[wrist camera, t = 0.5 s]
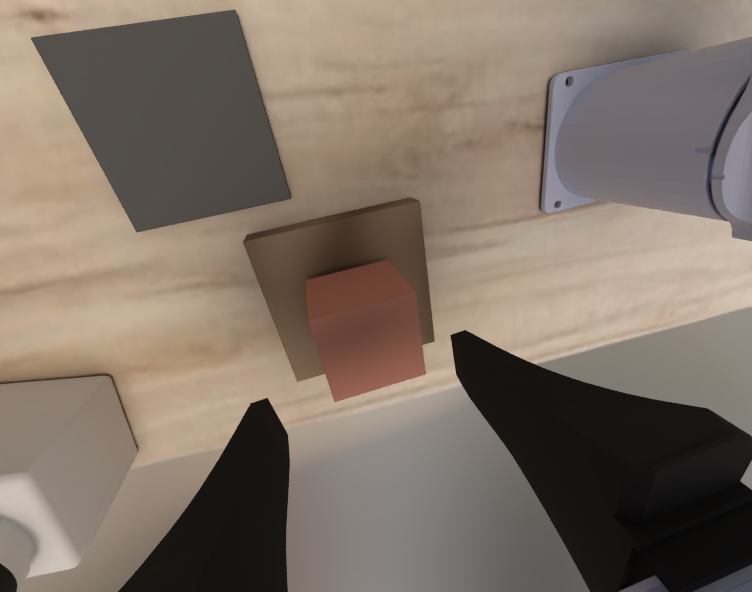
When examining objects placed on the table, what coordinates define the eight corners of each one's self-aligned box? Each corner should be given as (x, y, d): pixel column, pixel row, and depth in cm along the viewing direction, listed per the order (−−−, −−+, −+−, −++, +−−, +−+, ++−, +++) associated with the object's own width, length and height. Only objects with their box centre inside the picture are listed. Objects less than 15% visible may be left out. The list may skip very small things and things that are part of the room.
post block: (411, 197, 19) (460, 218, 13) (426, 330, 24) (468, 388, 18) (246, 235, 18) (223, 275, 12) (297, 368, 22) (297, 443, 17)
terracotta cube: (388, 259, 18) (415, 292, 14) (399, 328, 20) (425, 374, 16) (305, 280, 17) (308, 321, 13) (326, 349, 19) (334, 402, 15)
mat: (237, 15, 14) (235, 9, 13) (290, 197, 17) (290, 198, 17) (41, 42, 13) (30, 37, 12) (141, 229, 16) (136, 232, 16)
